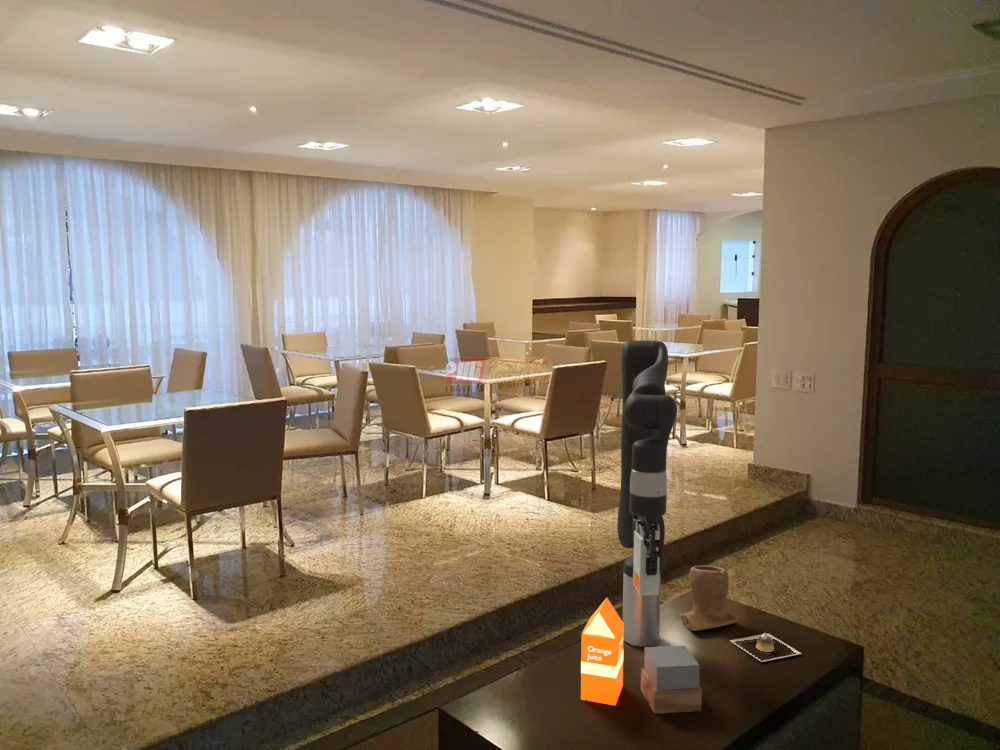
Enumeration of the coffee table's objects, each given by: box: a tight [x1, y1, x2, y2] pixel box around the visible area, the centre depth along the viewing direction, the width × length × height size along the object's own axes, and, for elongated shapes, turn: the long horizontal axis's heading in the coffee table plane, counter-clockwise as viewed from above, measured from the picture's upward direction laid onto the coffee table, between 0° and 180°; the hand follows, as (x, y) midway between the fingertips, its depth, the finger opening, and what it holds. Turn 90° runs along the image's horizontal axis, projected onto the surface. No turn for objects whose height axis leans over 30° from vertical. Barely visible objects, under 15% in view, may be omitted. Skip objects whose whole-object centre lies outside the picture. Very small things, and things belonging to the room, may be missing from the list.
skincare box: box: [633, 531, 660, 595], centre depth 160 cm, size 6×4×12 cm
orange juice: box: [580, 597, 625, 706], centre depth 165 cm, size 8×9×20 cm
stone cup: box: [679, 565, 738, 632], centre depth 201 cm, size 15×12×15 cm
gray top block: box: [643, 645, 700, 690], centre depth 163 cm, size 9×9×5 cm
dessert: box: [729, 632, 803, 663], centre depth 187 cm, size 12×12×5 cm
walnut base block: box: [640, 667, 703, 715], centre depth 163 cm, size 10×10×5 cm
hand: (646, 568), depth 160 cm, fingers closed on skincare box, 6 cm apart
